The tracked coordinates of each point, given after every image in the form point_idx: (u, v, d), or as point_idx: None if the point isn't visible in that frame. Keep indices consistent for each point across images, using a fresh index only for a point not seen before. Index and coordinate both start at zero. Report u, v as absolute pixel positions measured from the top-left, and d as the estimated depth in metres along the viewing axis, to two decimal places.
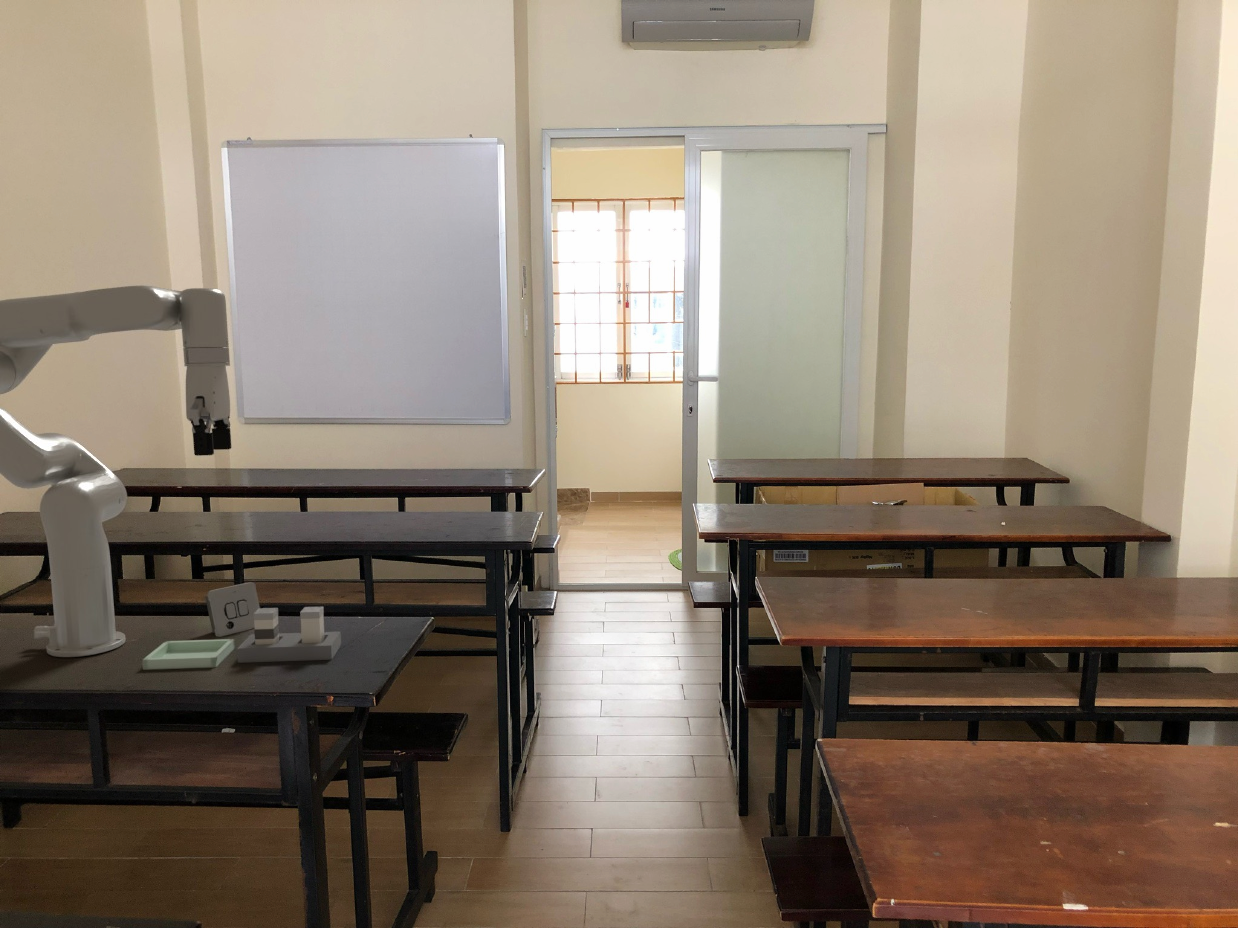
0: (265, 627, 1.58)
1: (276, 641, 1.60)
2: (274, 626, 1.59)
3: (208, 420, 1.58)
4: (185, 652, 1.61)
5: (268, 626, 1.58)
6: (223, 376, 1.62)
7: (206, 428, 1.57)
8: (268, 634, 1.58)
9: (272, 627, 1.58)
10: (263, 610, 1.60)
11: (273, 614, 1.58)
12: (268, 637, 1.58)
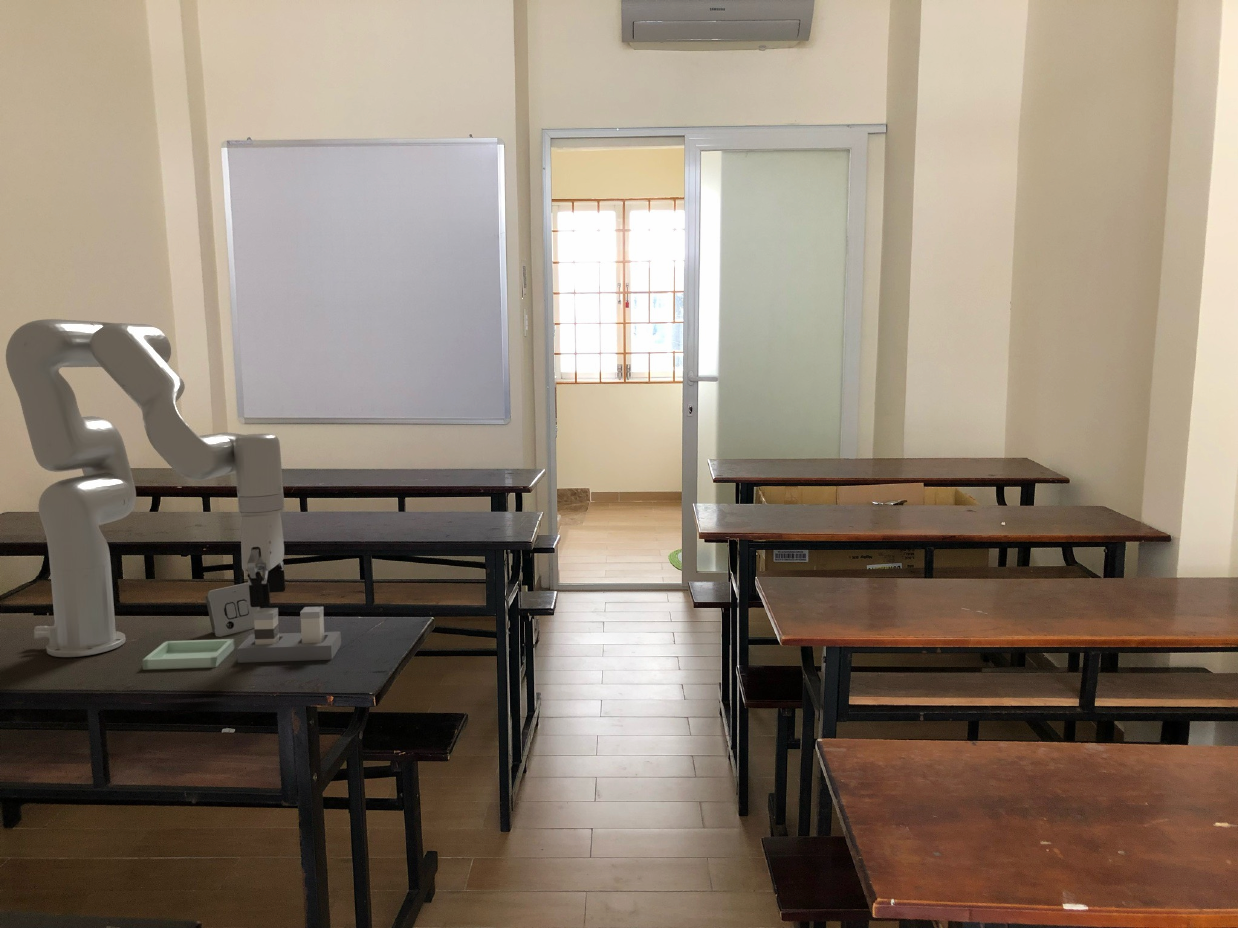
0: (265, 627, 1.58)
1: (276, 641, 1.60)
2: (274, 626, 1.59)
3: (264, 571, 1.53)
4: (185, 652, 1.61)
5: (268, 626, 1.58)
6: (278, 521, 1.58)
7: (263, 580, 1.53)
8: (268, 634, 1.58)
9: (272, 627, 1.58)
10: (263, 610, 1.60)
11: (273, 614, 1.58)
12: (268, 637, 1.58)
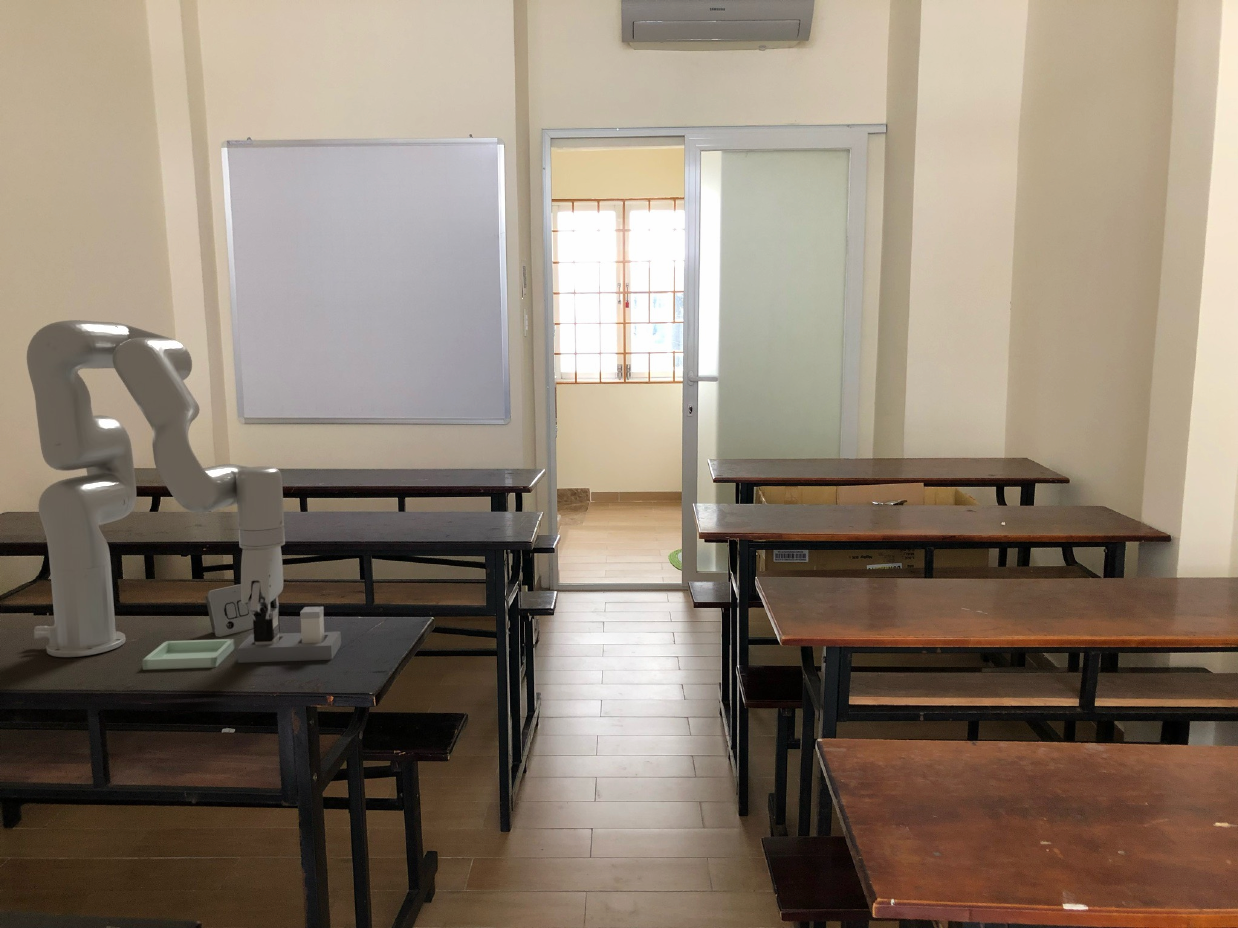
0: None
1: (276, 641, 1.60)
2: (274, 626, 1.59)
3: (267, 608, 1.56)
4: (185, 652, 1.61)
5: None
6: (278, 554, 1.59)
7: (267, 618, 1.56)
8: None
9: None
10: None
11: (273, 614, 1.58)
12: None
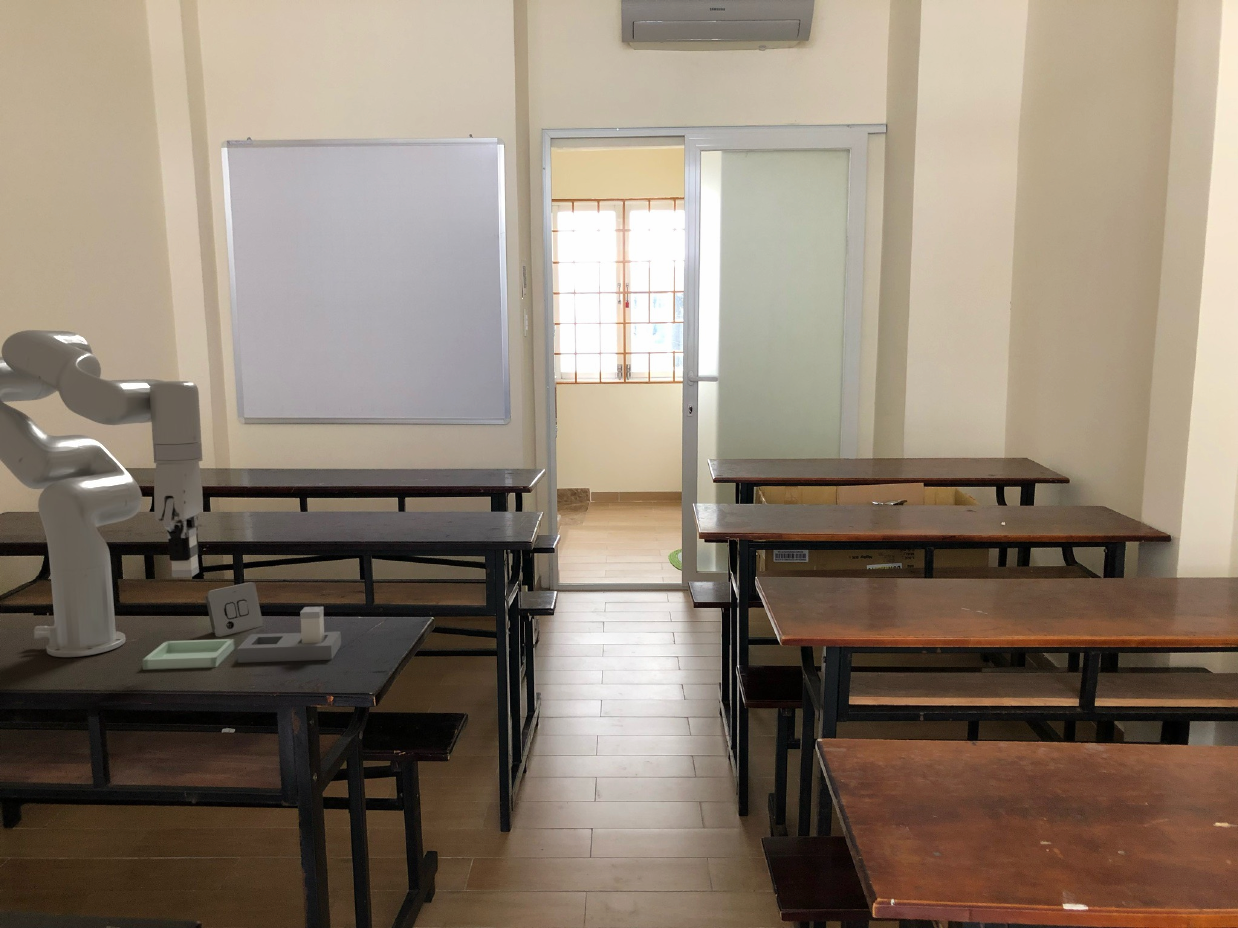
0: None
1: (194, 561, 1.56)
2: (191, 545, 1.55)
3: (182, 525, 1.52)
4: (185, 652, 1.61)
5: None
6: (195, 471, 1.55)
7: (182, 535, 1.52)
8: None
9: (189, 546, 1.54)
10: None
11: (190, 533, 1.54)
12: None
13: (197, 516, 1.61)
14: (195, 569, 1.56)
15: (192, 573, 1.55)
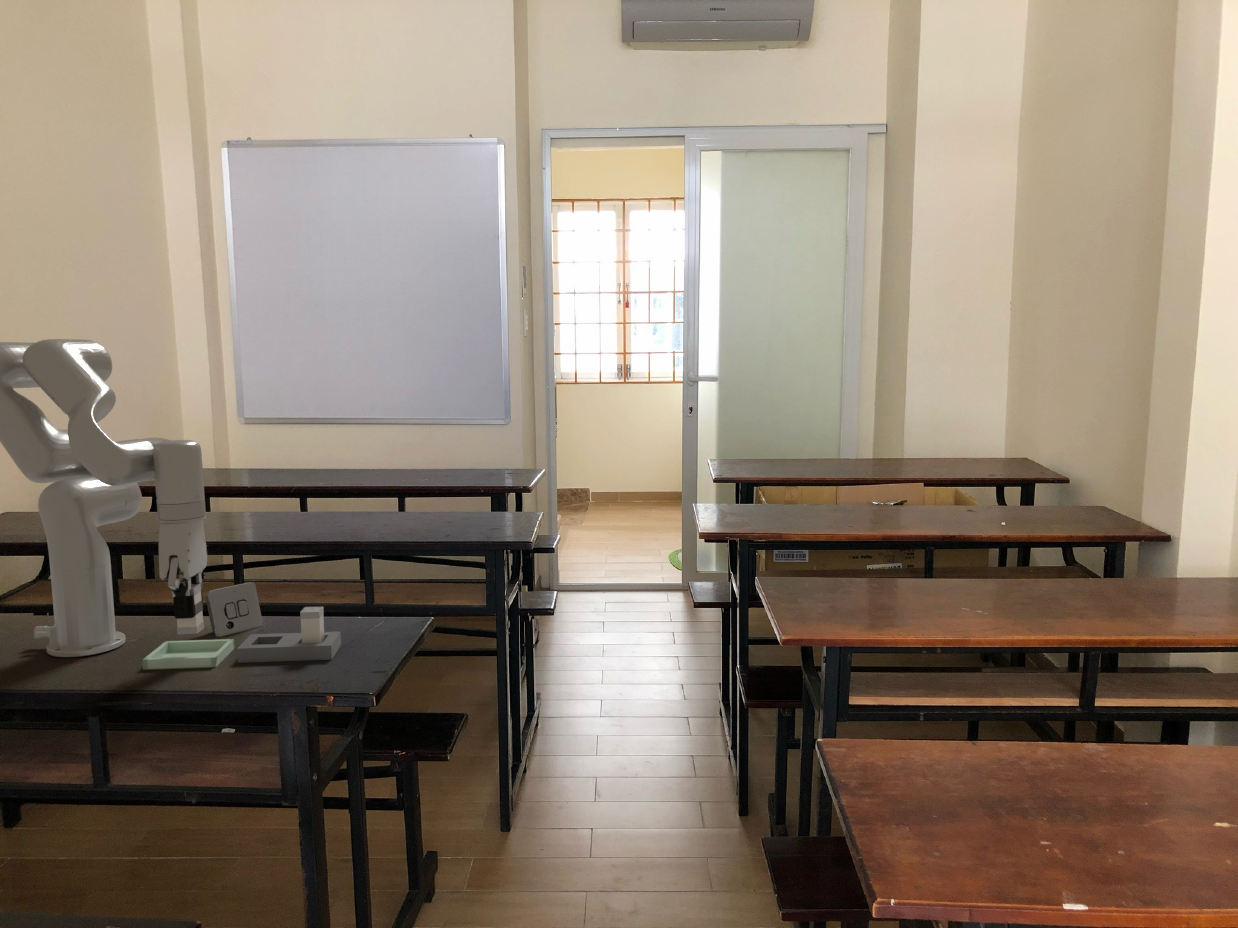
0: None
1: (199, 618, 1.57)
2: (196, 602, 1.56)
3: (187, 584, 1.53)
4: (185, 652, 1.61)
5: None
6: (199, 529, 1.56)
7: (187, 594, 1.53)
8: None
9: None
10: None
11: (194, 590, 1.55)
12: None
13: (201, 572, 1.62)
14: (200, 625, 1.58)
15: (197, 630, 1.56)
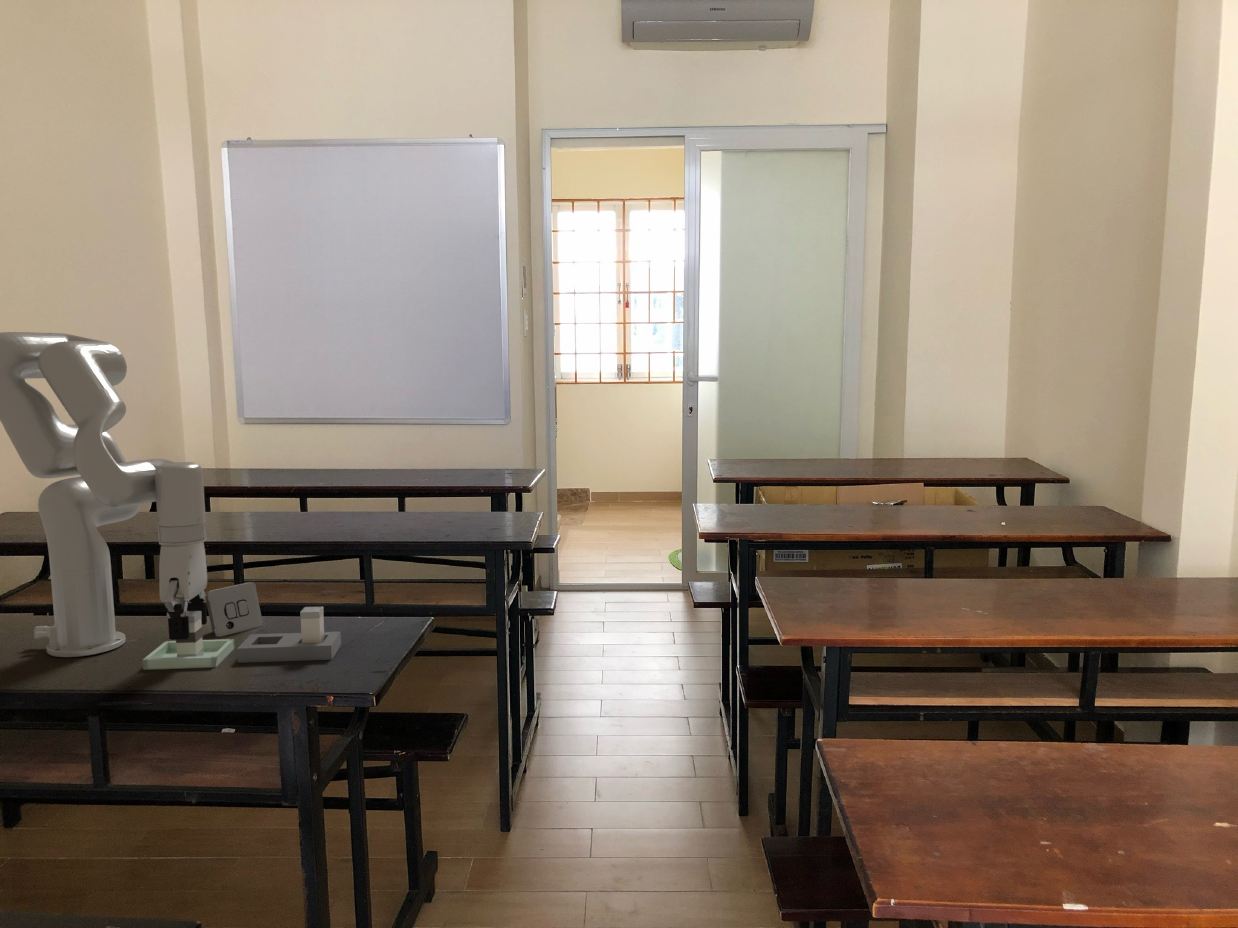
0: None
1: (199, 645, 1.58)
2: (196, 629, 1.57)
3: (183, 604, 1.52)
4: None
5: (189, 629, 1.56)
6: (199, 551, 1.56)
7: (181, 613, 1.52)
8: (190, 638, 1.56)
9: (194, 630, 1.56)
10: None
11: (195, 617, 1.56)
12: (190, 641, 1.56)
13: None
14: (200, 652, 1.58)
15: None
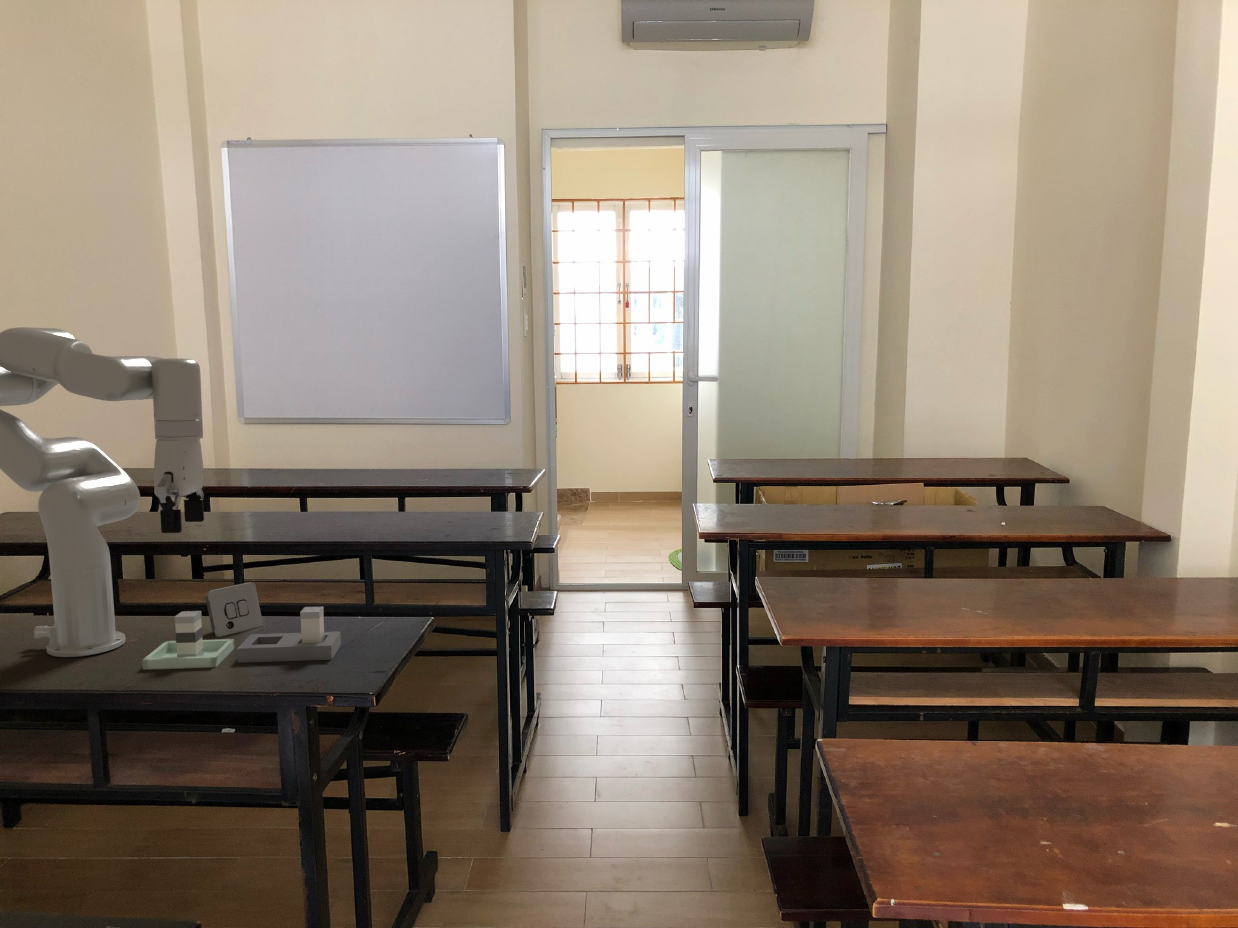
0: (186, 630, 1.56)
1: (199, 645, 1.58)
2: (196, 629, 1.57)
3: (176, 497, 1.51)
4: None
5: (189, 629, 1.56)
6: (195, 449, 1.56)
7: (174, 505, 1.51)
8: (190, 638, 1.56)
9: (194, 630, 1.56)
10: (185, 613, 1.57)
11: (195, 617, 1.56)
12: (190, 641, 1.56)
13: None
14: (200, 652, 1.58)
15: None
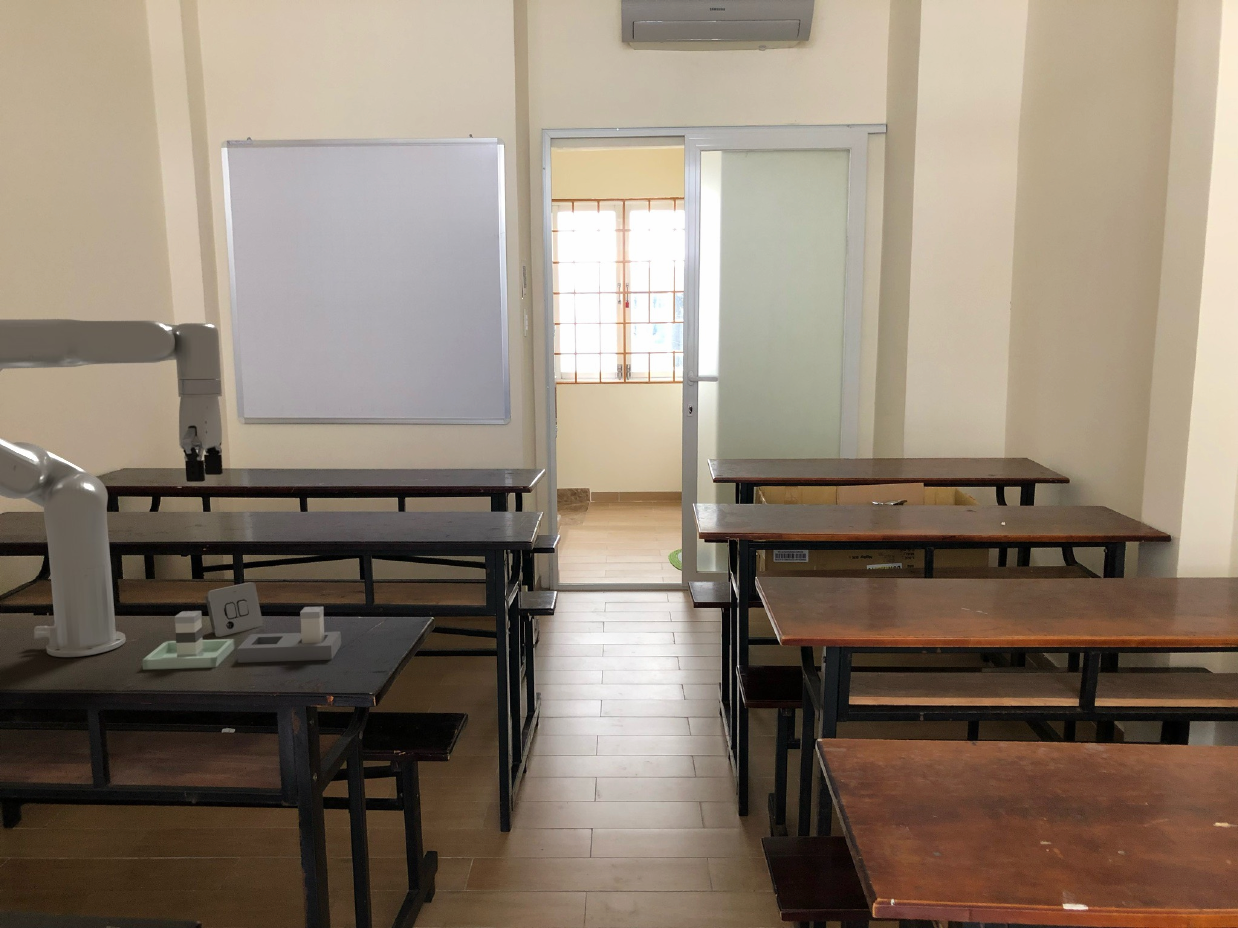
0: (186, 630, 1.56)
1: (199, 645, 1.58)
2: (196, 629, 1.57)
3: (200, 448, 1.66)
4: None
5: (189, 629, 1.56)
6: (215, 406, 1.71)
7: (198, 456, 1.65)
8: (190, 638, 1.56)
9: (194, 630, 1.56)
10: (185, 613, 1.57)
11: (195, 617, 1.56)
12: (190, 641, 1.56)
13: None
14: (200, 652, 1.58)
15: None
